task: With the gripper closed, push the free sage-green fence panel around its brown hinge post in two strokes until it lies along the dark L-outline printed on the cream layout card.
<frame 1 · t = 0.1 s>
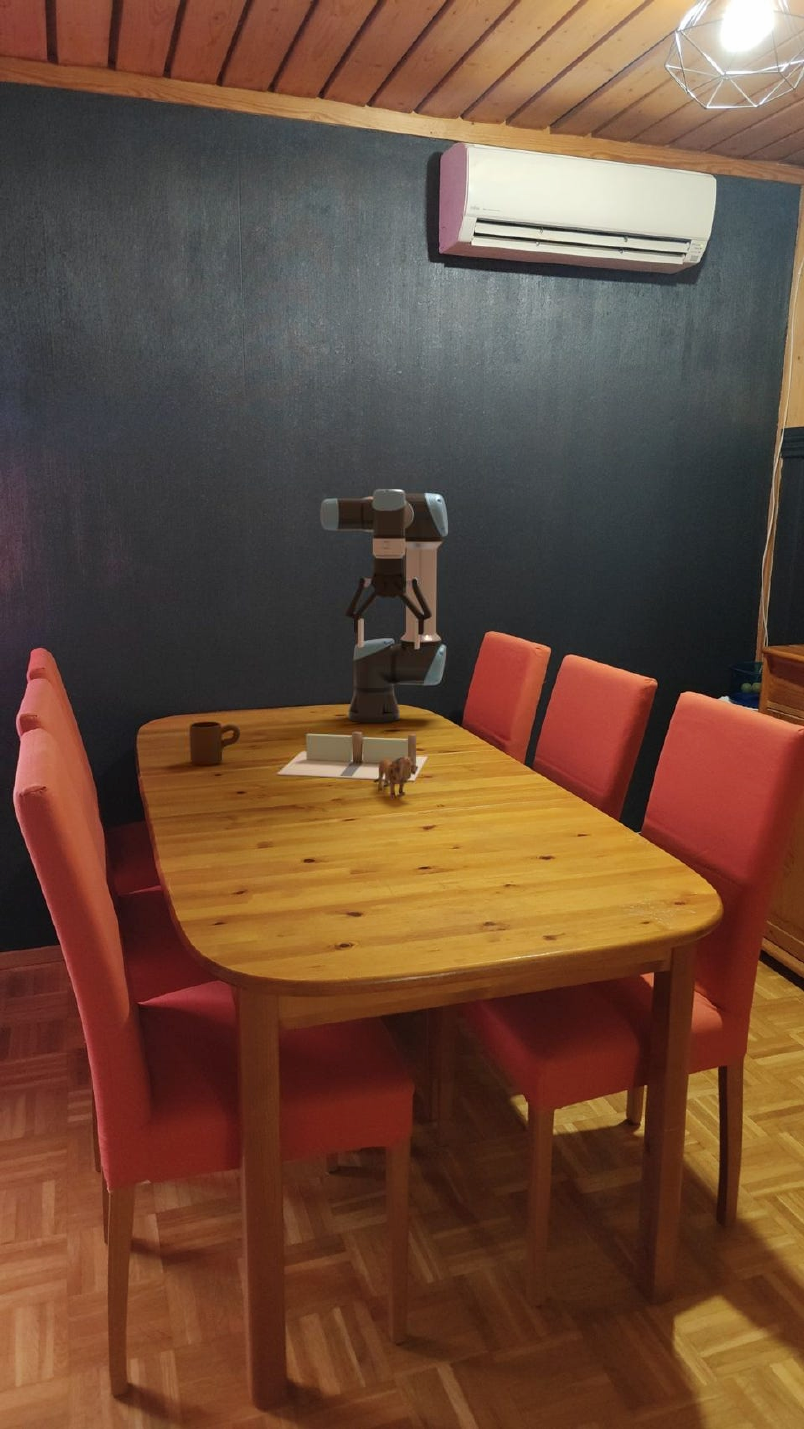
hand: (388, 647, 229), 28 cm above the table, fingers open, 13 cm apart
layout card: (354, 766, 230), on the table
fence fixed: (357, 763, 233), resting on layout card
mug: (215, 762, 233), on the table
fence panel: (329, 747, 233), point 4 cm above the table, hinge at 0.0°
lion figurine: (394, 793, 208), on the table
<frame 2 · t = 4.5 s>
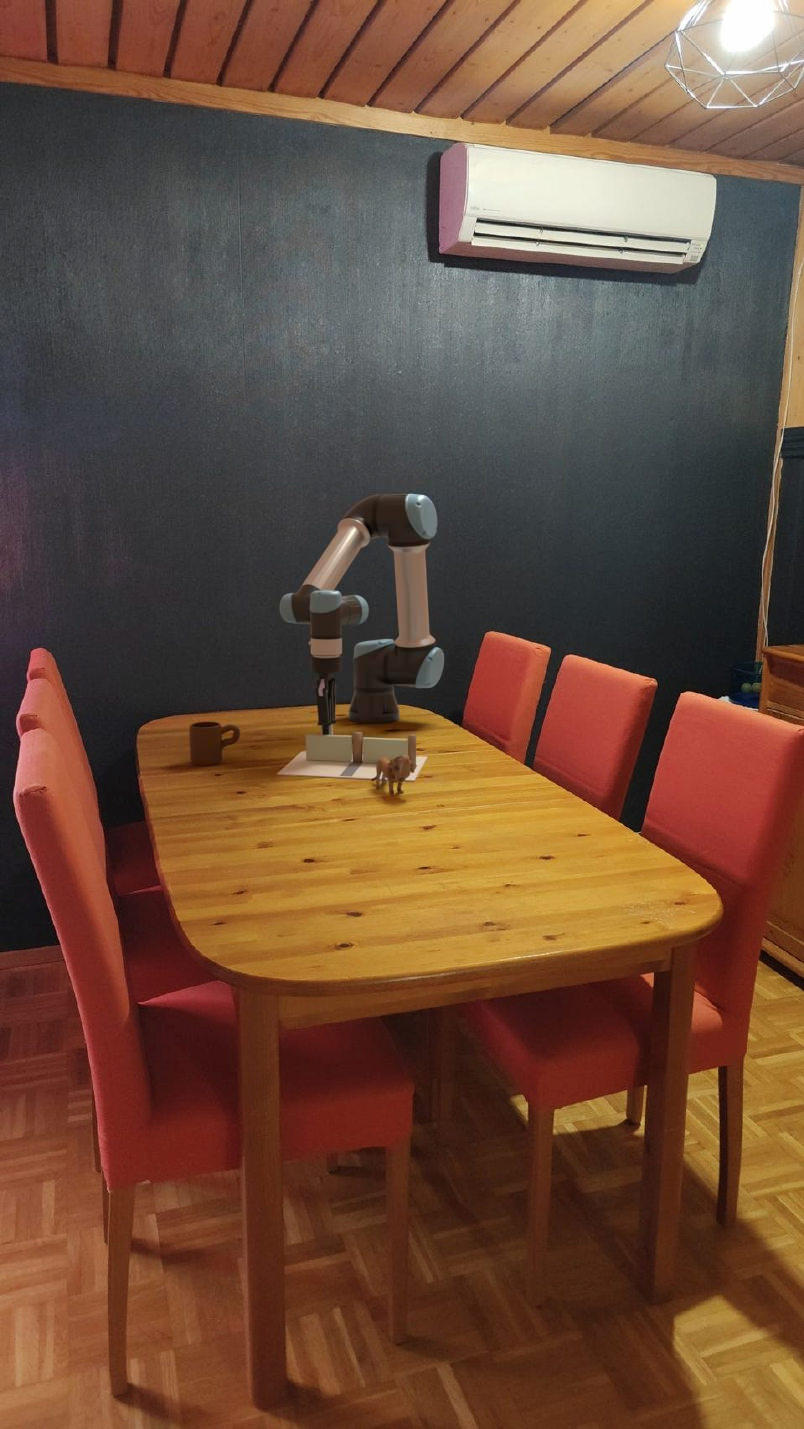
hand: (327, 750, 236), 2 cm above the table, fingers closed
fence panel: (328, 747, 233), point 4 cm above the table, hinge at 2.4°, touching gripper
lion figurine: (392, 791, 210), on the table
everything else where it was.
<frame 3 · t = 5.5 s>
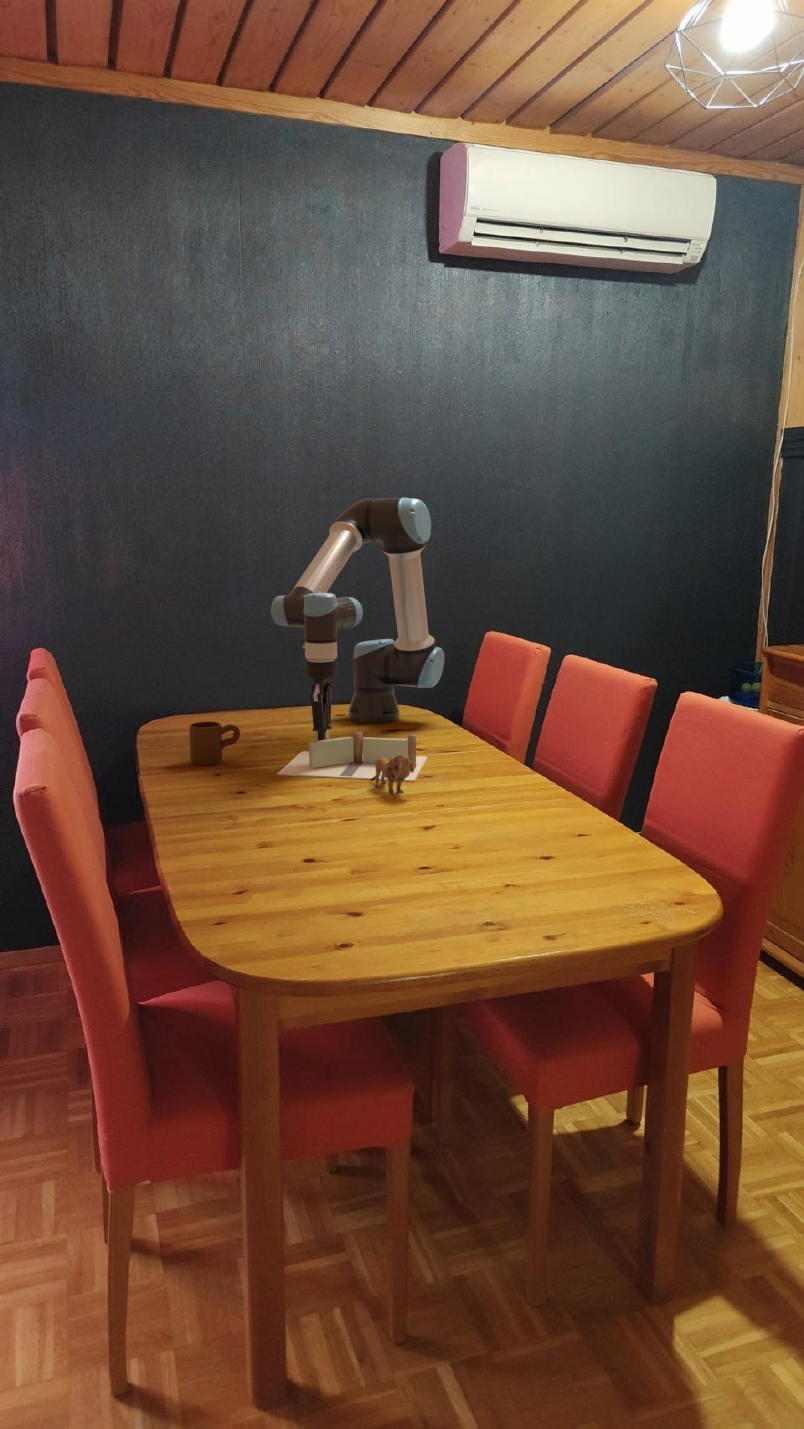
hand: (322, 756, 231), 2 cm above the table, fingers closed
fence panel: (331, 752, 228), point 4 cm above the table, hinge at 40.6°, touching gripper
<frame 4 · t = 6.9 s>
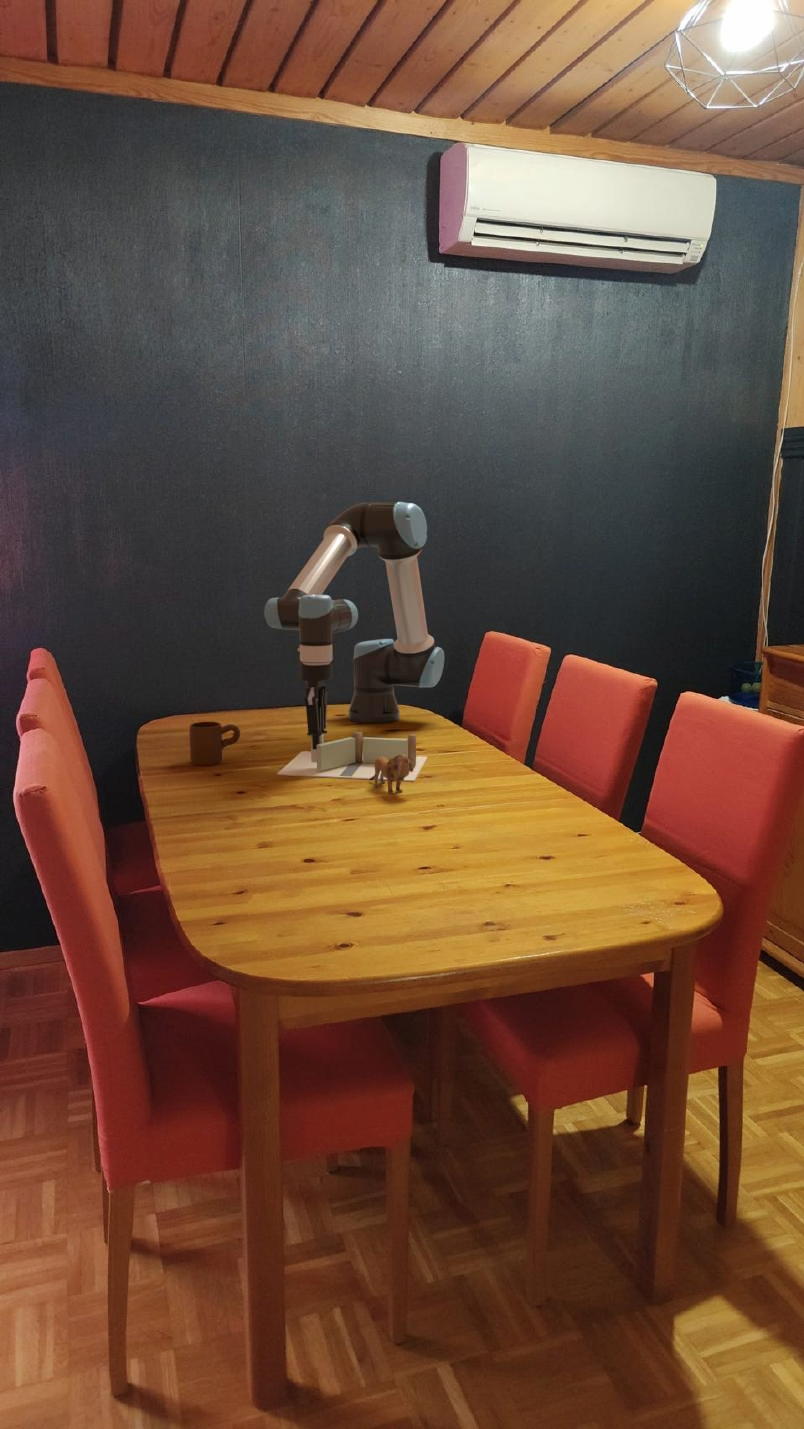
hand: (317, 761, 226), 2 cm above the table, fingers closed
fence panel: (336, 753, 227), point 4 cm above the table, hinge at 56.7°, touching gripper
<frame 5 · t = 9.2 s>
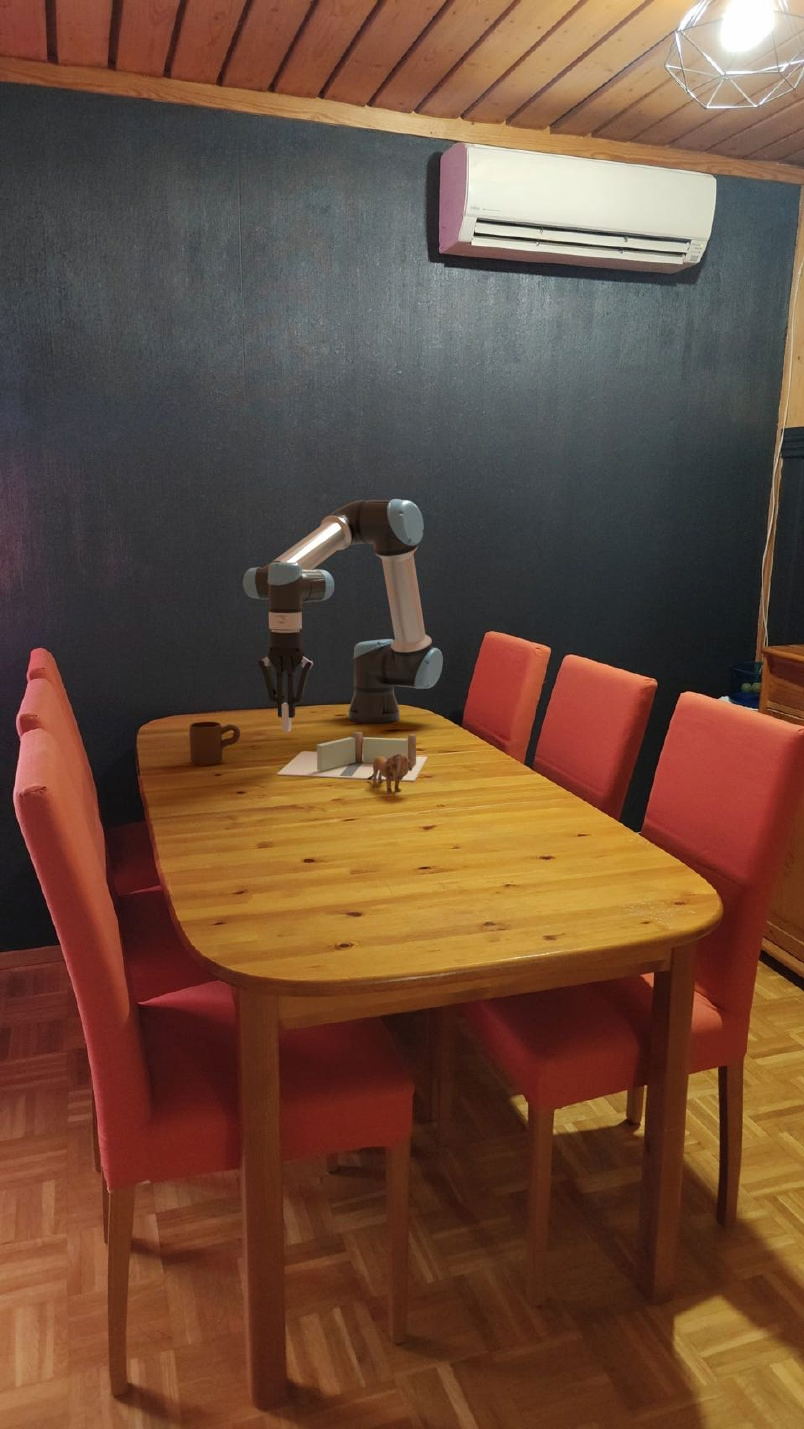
hand: (286, 730, 225), 9 cm above the table, fingers closed
fence panel: (336, 753, 227), point 4 cm above the table, hinge at 57.0°
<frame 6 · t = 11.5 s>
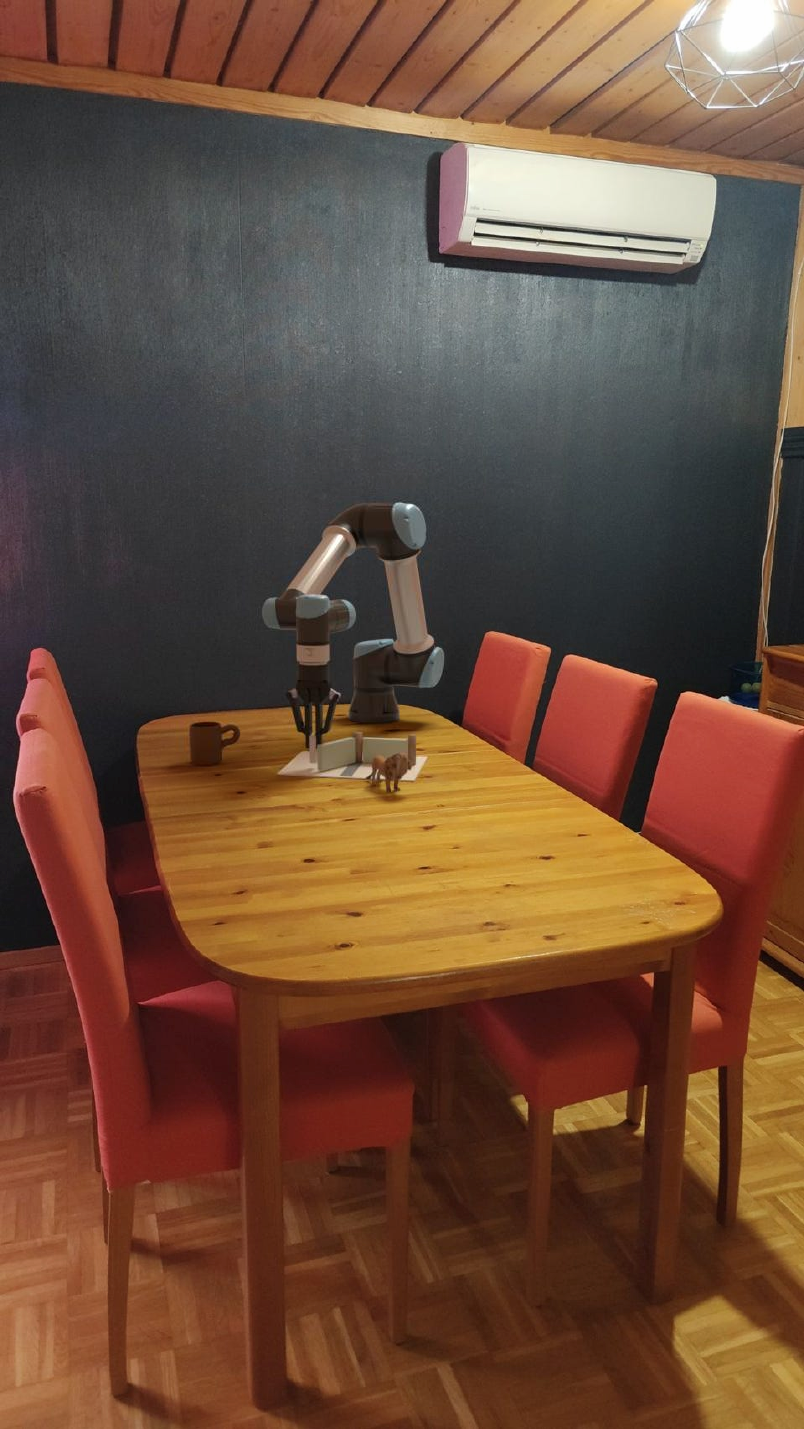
hand: (314, 761, 226), 2 cm above the table, fingers closed
fence panel: (336, 753, 227), point 4 cm above the table, hinge at 57.7°, touching gripper
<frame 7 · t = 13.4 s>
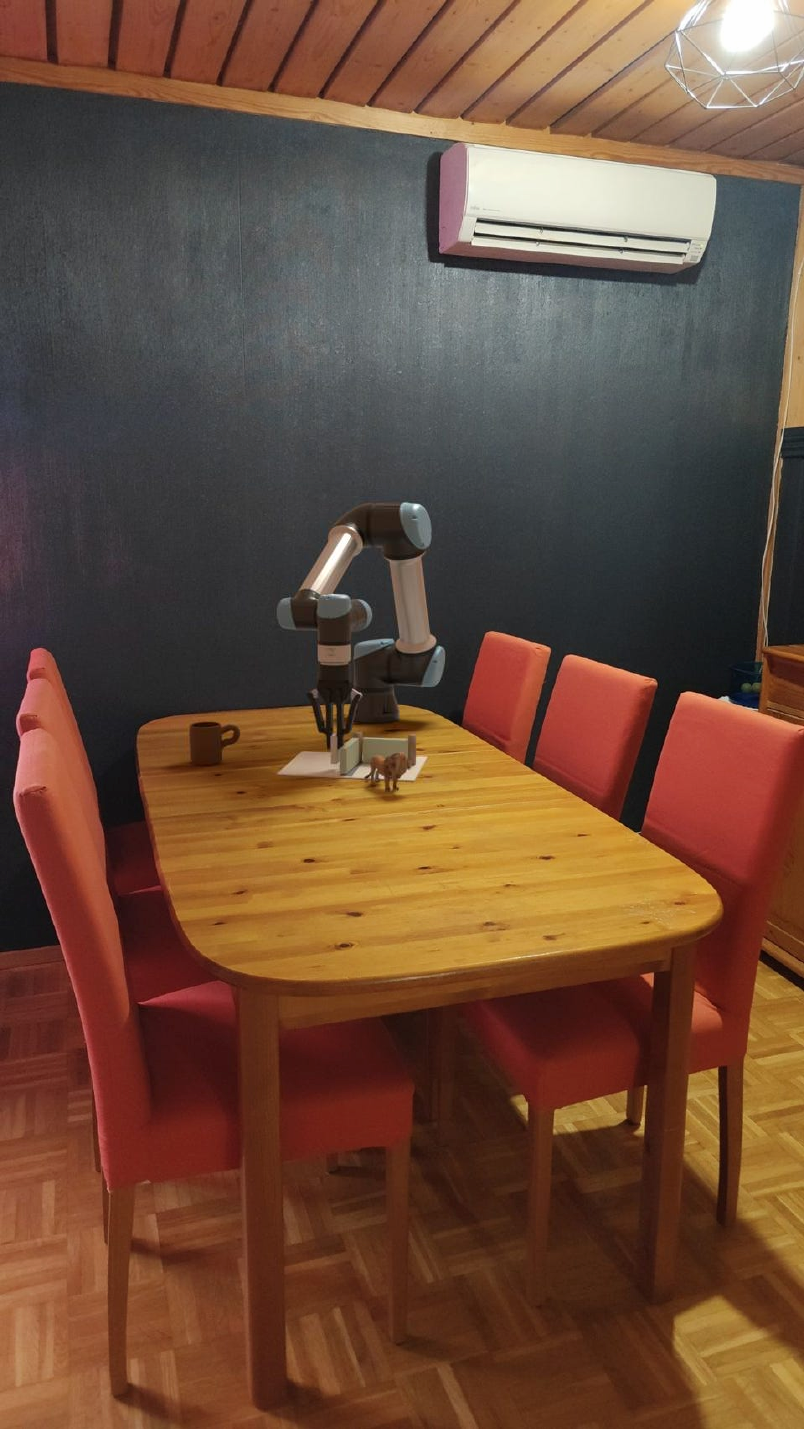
hand: (335, 762, 225), 2 cm above the table, fingers closed
fence panel: (349, 755, 225), point 4 cm above the table, hinge at 86.6°
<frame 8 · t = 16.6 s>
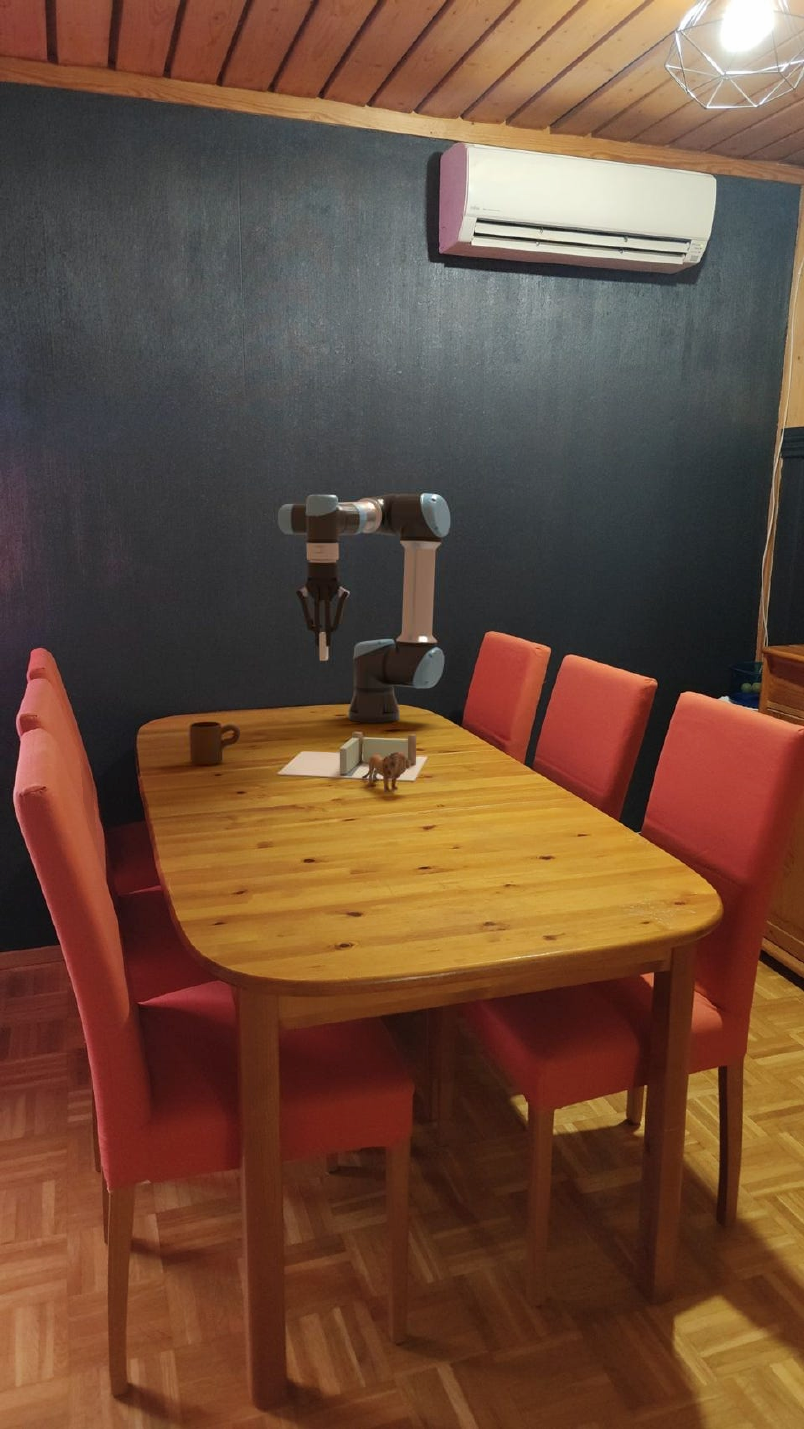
hand: (324, 659, 233), 24 cm above the table, fingers closed
at the end: fence panel at +87° (first picture: +0°); the gripper is holding nothing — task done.
